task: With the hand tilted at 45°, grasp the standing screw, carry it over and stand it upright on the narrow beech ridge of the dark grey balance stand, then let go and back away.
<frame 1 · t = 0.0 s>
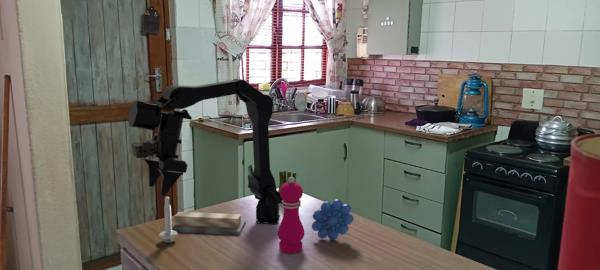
hand: (156, 190, 121), 15 cm above the counter, tool pointing down, fingers open, 9 cm apart
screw: (168, 241, 128), on the counter
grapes: (332, 239, 131), on the counter
balance stand: (208, 227, 138), on the counter
pepper mill: (290, 249, 124), on the counter
fennel bulb: (286, 205, 159), on the counter
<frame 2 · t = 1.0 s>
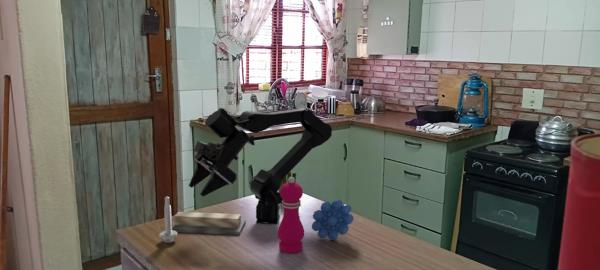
hand: (195, 191, 129), 13 cm above the counter, tool tilted 45°, fingers open, 9 cm apart
nothing on the counter moved.
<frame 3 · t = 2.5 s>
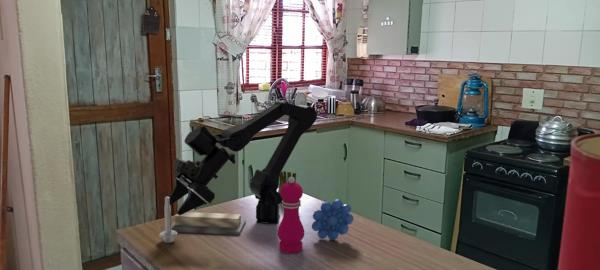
hand: (172, 209, 127), 9 cm above the counter, tool tilted 45°, fingers open, 9 cm apart
nothing on the counter moved.
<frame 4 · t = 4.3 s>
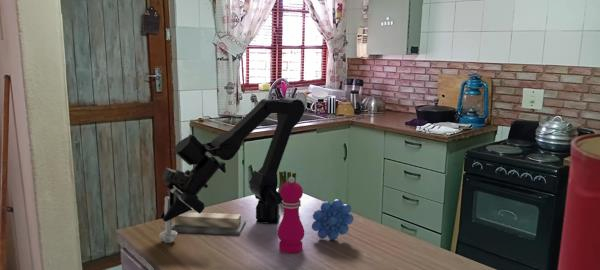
hand: (162, 219, 126), 7 cm above the counter, tool tilted 45°, fingers closed on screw, 2 cm apart
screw: (168, 241, 128), on the counter, touching gripper
everything else where it was.
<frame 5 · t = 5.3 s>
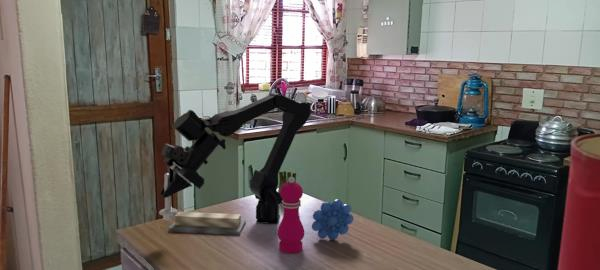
hand: (162, 195, 125), 13 cm above the counter, tool tilted 45°, fingers closed on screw, 2 cm apart
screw: (168, 219, 126), point 6 cm above the counter, touching gripper
everything else where it was.
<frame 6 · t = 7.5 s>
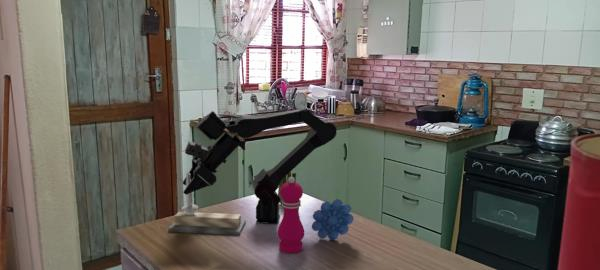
hand: (184, 188, 135), 12 cm above the counter, tool tilted 45°, fingers open, 9 cm apart
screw: (190, 214, 137), point 4 cm above the counter, touching balance stand
everything else where it was.
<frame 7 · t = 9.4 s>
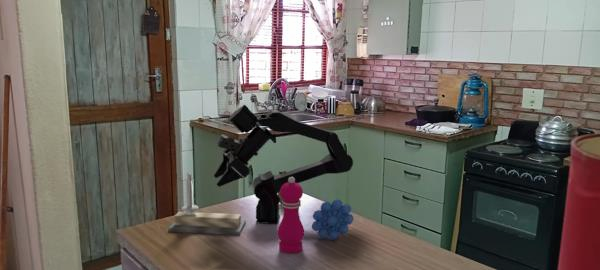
hand: (216, 181, 138), 14 cm above the counter, tool tilted 45°, fingers open, 9 cm apart
nothing on the counter moved.
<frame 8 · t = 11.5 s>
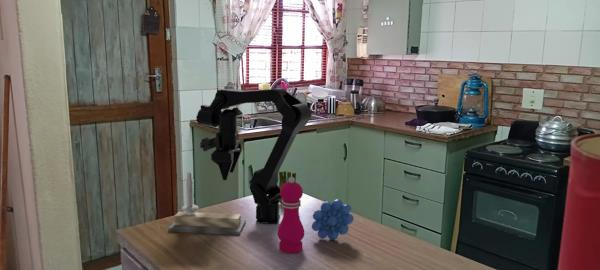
hand: (228, 176, 149), 12 cm above the counter, tool pointing down, fingers open, 9 cm apart
nothing on the counter moved.
at the end: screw 0.2 cm from the target spot on the balance stand, point 3.6 cm above the balance stand's base; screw tilted 0°; the gripper is holding nothing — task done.
